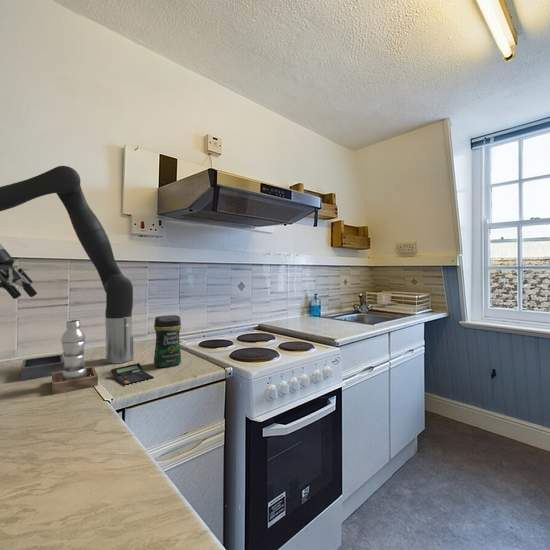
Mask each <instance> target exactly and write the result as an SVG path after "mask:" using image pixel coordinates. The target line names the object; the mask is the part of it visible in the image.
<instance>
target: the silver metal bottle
mask: <svg viewBox="0 0 550 550" xmlns="http://www.w3.org/2000/svg"><path fill="white" fill-rule="evenodd" d="M81 326H82V325H81V319H72V320H71V319H70V320H67V321H66V324H65V328H66V330H65V331H64V332H63V333H62V336H61V338H60V339H61V340H60V342H61V346H62V352H63V357H64V369H63V374H62V380H63V381H69V380H74V379H80V378H86V375H87V373H86V368H85V367H86V364H85V354H84V353H85V344H86V343H85V342H86V334H85V332H84V331H83V330H82V329H81V328H80V327H81ZM63 381H62V382H63Z"/></svg>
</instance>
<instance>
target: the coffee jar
mask: <svg viewBox="0 0 550 550" xmlns="http://www.w3.org/2000/svg"><path fill="white" fill-rule="evenodd" d="M153 327H154V331H155V347H154V348H155V349H154V357H153V364H154V365H155V367H157V368H158V367H159V368H167V367H174V366H178V365H181V362H182V355H181V346H180V343H181V342H180V331H181V329H182V322H181V317H180V316H179V315H176V314H171V315H160V316H155V318H154V324H153Z"/></svg>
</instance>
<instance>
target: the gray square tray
mask: <svg viewBox="0 0 550 550" xmlns="http://www.w3.org/2000/svg"><path fill="white" fill-rule="evenodd" d="M63 369H64V354H56V355H47V356H41V357H40V356H39V357H34V358H26V359H23V360H22V363H21V369H20V372H21V375H20V377H21V378H20V379H21V381H22V382H24V381H28V380H36V379H41V378H46V377H52V373H54V372H60V371H63Z"/></svg>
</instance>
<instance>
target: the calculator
mask: <svg viewBox="0 0 550 550" xmlns="http://www.w3.org/2000/svg"><path fill="white" fill-rule="evenodd" d="M110 372H111V375H112V377H113V378H114V380H115V381H116V382H118V383H119V384H120V383H121V384H120V385H122V384H123V385H124V386H123V385H122V386H123V387H126V386H125V385H128V386H130V385H129V384H131V385H134V384H133V383H135V384H138V383H137V382H139V383H142V382H141V381H143V382H146V381H149V379H150V380H153V378H155V377H154V376H153V375H151V374H149V373H147V372H146V371H145V370H144V369H143V367H142V365H141V363H140V362H138V363H134V364H128V365H125V366H120V367H115V368H111V369H110ZM145 380H146V381H145Z"/></svg>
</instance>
